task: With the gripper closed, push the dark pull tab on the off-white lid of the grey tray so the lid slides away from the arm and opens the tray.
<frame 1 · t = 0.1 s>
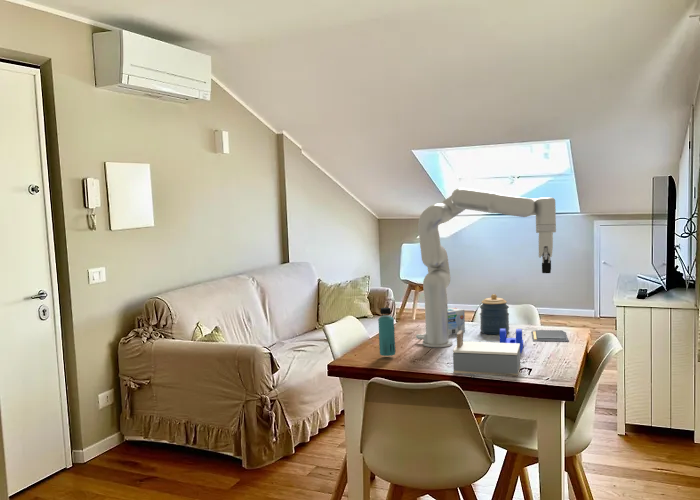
hand: (546, 271, 240), 31 cm above the table, tool pointing down, fingers open, 9 cm apart
bracket: (512, 348, 247), on the table
wallet: (549, 338, 263), on the table
beverage bottle: (387, 358, 239), on the table
lid: (486, 341, 216), point 10 cm above the table, slide at 0.0 cm
grey tray: (487, 368, 217), on the table
light bulb box: (452, 333, 279), on the table
canister: (494, 332, 277), on the table
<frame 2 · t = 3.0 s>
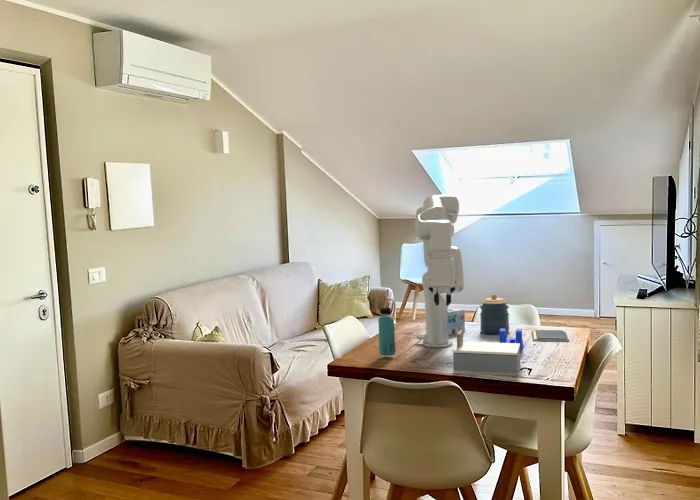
hand: (442, 304, 221), 23 cm above the table, tool pointing down, fingers open, 3 cm apart
nothing on the table moved.
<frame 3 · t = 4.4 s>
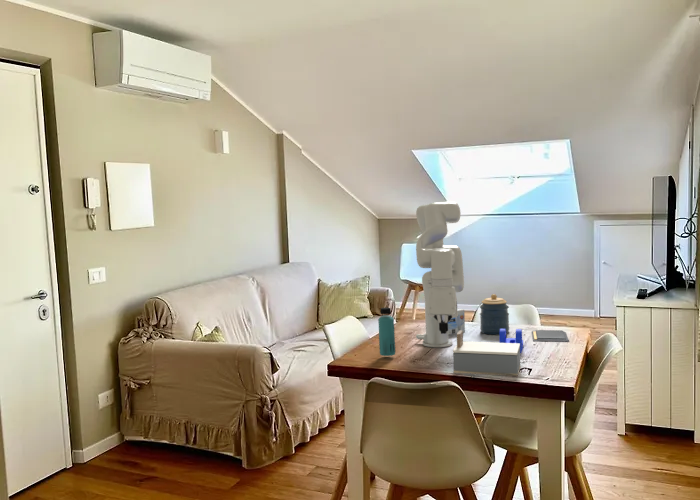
hand: (443, 332, 221), 13 cm above the table, tool pointing down, fingers closed
nothing on the table moved.
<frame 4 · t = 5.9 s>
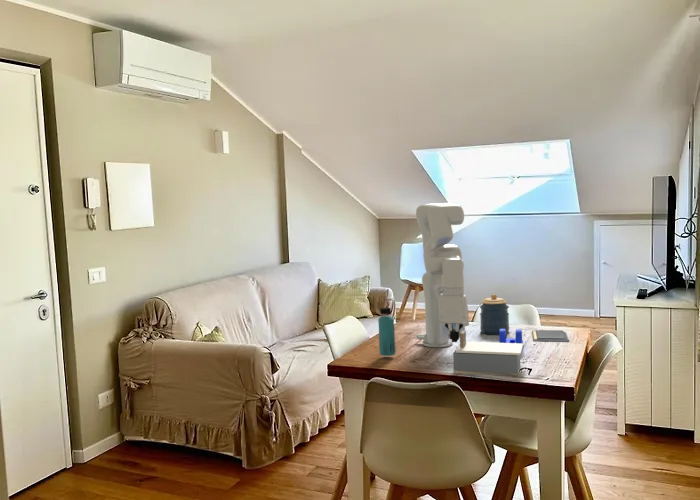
hand: (454, 341, 220), 10 cm above the table, tool pointing down, fingers closed
lid: (489, 341, 216), point 10 cm above the table, slide at 1.1 cm, touching gripper
everything else where it was.
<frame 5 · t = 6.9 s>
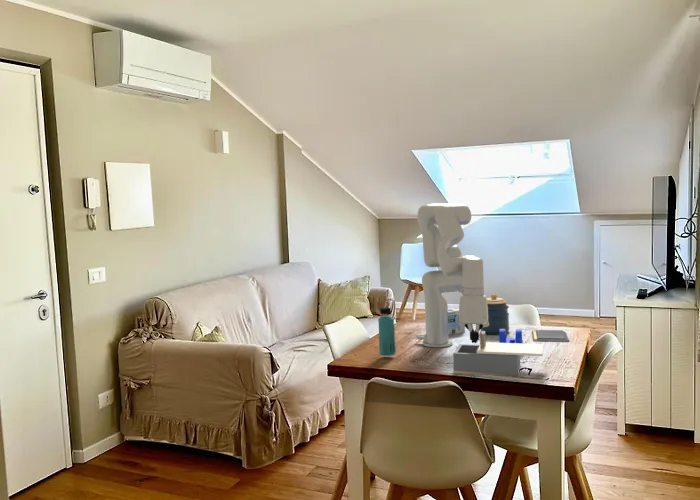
hand: (474, 342, 218), 10 cm above the table, tool pointing down, fingers closed
lid: (510, 341, 214), point 10 cm above the table, slide at 8.3 cm, touching gripper
everything else where it was.
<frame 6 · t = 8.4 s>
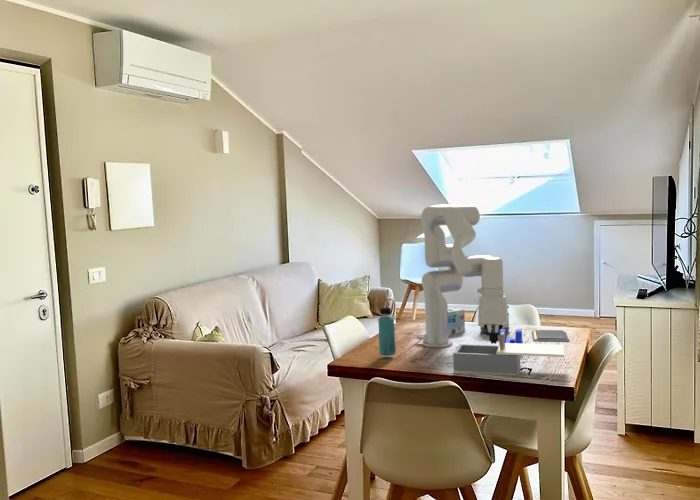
hand: (493, 342, 216), 10 cm above the table, tool pointing down, fingers closed
lid: (530, 342, 211), point 10 cm above the table, slide at 15.1 cm, touching gripper
everything else where it was.
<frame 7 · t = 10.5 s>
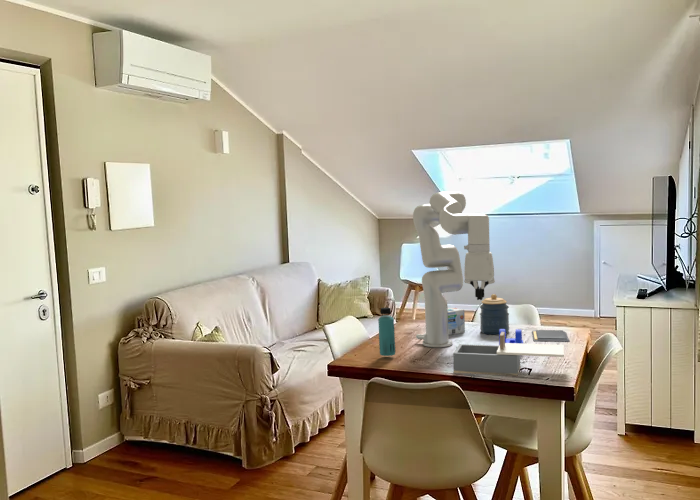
hand: (479, 299, 218), 25 cm above the table, tool pointing down, fingers closed
lid: (530, 342, 211), point 10 cm above the table, slide at 15.1 cm
everything else where it was.
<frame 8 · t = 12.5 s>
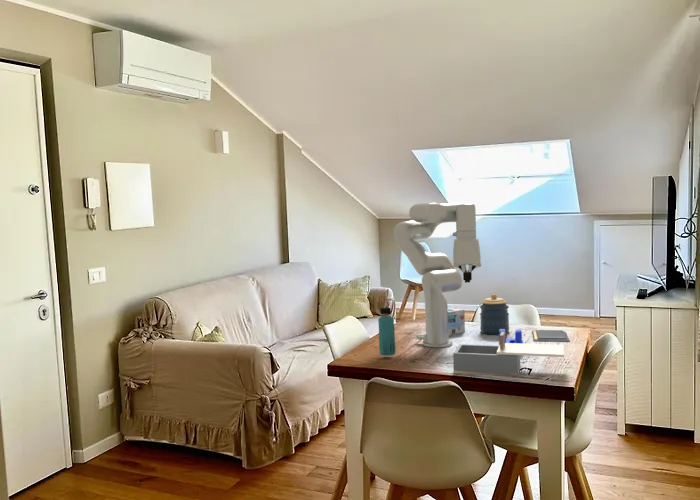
hand: (467, 282, 235), 29 cm above the table, tool pointing down, fingers closed
at the end: lid slide at 15.1 cm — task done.
